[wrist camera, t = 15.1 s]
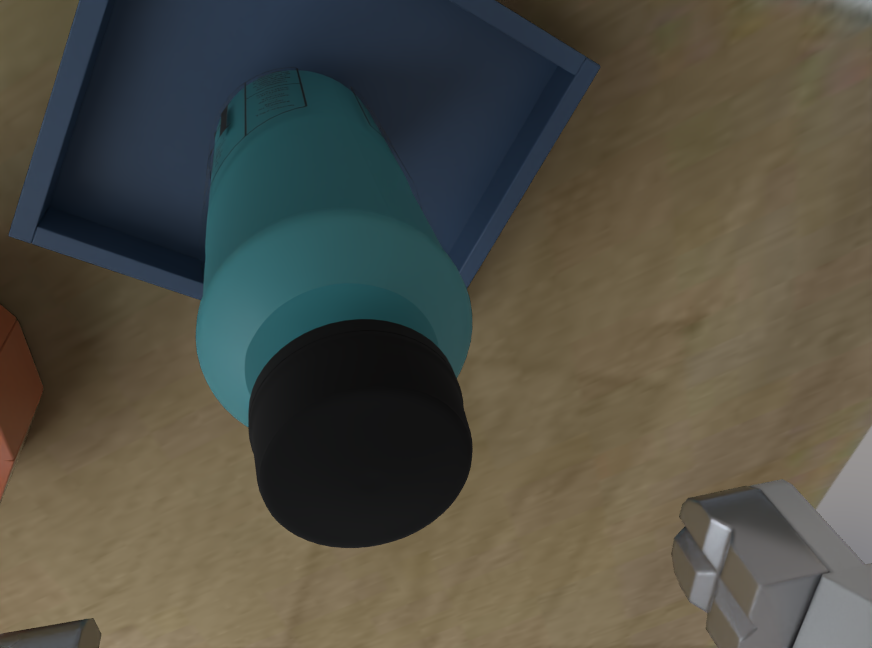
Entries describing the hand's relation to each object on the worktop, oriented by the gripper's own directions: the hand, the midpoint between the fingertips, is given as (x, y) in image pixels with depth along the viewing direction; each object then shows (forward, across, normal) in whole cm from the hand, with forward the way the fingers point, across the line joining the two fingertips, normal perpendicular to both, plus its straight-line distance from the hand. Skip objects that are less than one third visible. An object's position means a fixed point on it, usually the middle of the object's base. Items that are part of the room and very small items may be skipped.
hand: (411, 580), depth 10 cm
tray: (+23, 0, +1) cm, 23 cm away
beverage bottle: (+23, 0, +1) cm, 23 cm away
